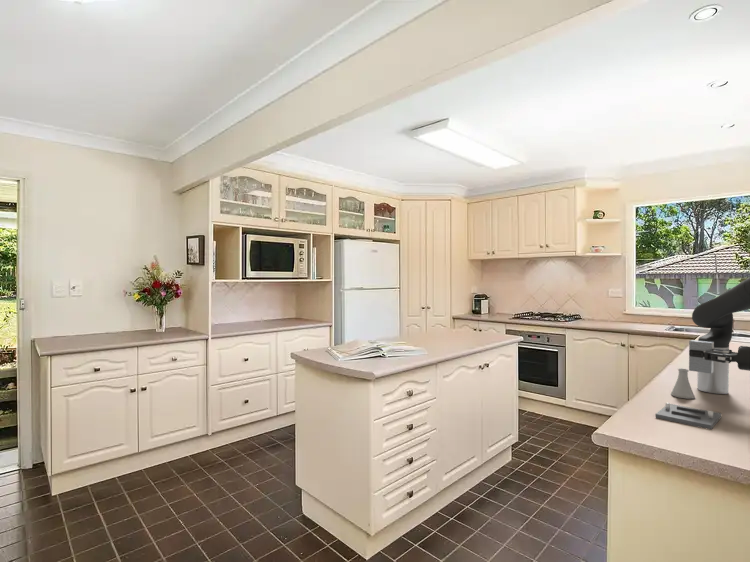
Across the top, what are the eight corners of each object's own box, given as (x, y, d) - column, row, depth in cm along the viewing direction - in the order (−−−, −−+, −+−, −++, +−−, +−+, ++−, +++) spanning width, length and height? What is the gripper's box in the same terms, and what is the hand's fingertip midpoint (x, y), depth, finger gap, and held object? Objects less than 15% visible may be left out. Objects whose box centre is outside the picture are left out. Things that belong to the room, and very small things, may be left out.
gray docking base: (655, 417, 130) (655, 407, 130) (668, 407, 141) (669, 397, 141) (711, 429, 120) (711, 418, 120) (721, 417, 131) (721, 406, 131)
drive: (689, 370, 143) (689, 341, 143) (691, 369, 146) (691, 339, 146) (711, 373, 139) (711, 343, 139) (713, 371, 141) (713, 342, 141)
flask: (699, 400, 150) (699, 371, 150) (676, 398, 151) (676, 370, 151) (688, 394, 157) (689, 367, 157) (666, 393, 158) (667, 366, 158)
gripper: (761, 345, 136) (695, 339, 149) (756, 350, 127) (686, 343, 139) (761, 368, 137) (695, 360, 149) (755, 375, 127) (685, 366, 140)
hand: (691, 352), depth 144 cm, fingers closed on drive, 3 cm apart
